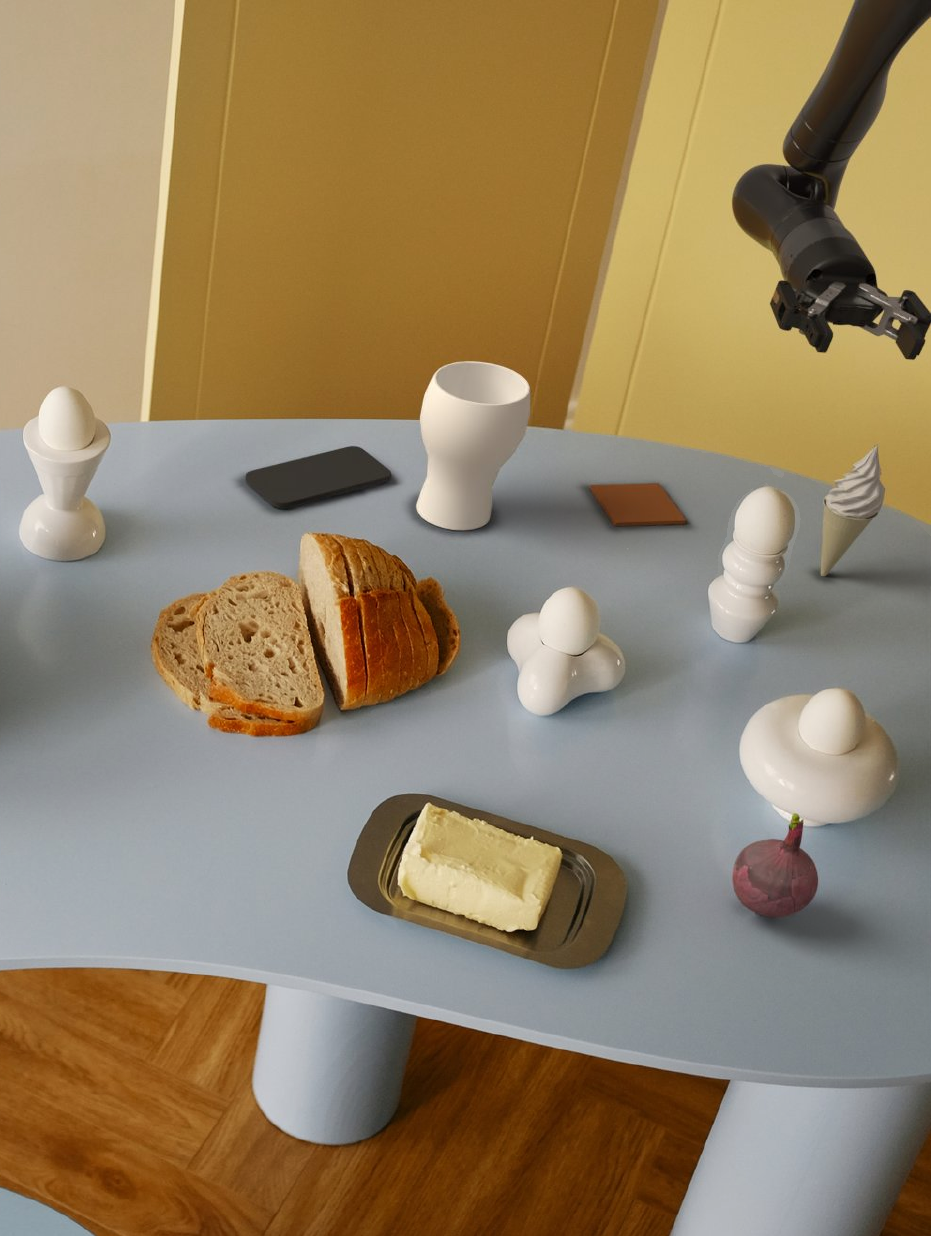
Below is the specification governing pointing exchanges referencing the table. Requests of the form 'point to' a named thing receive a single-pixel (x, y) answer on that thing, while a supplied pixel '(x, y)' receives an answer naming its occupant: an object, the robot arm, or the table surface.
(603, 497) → the cork mat
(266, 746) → the table surface
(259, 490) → the phone
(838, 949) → the table surface
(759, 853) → the vegetable
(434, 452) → the cup
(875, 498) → the ice cream cone
